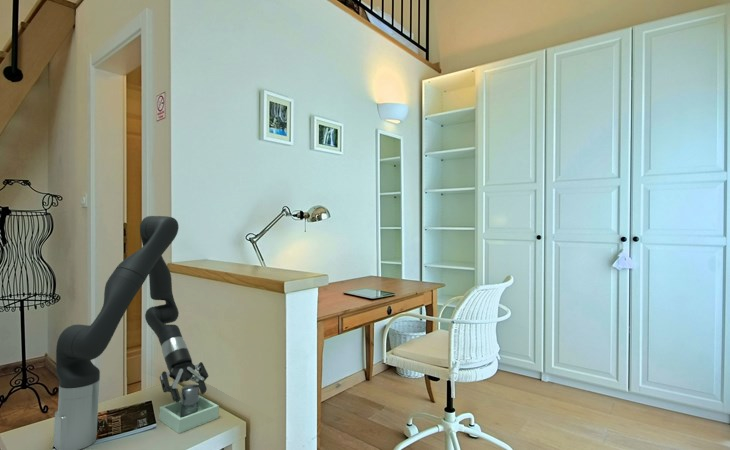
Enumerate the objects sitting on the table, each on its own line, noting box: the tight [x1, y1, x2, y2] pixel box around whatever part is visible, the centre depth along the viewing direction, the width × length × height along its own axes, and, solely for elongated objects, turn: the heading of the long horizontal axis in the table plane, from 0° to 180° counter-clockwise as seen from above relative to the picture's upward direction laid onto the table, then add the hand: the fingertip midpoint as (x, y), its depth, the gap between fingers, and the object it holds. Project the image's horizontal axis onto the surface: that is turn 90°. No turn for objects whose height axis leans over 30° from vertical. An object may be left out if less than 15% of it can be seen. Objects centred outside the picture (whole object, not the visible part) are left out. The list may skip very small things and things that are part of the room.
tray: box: [158, 394, 220, 434], centre depth 123 cm, size 13×13×4 cm
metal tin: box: [180, 383, 200, 418], centre depth 123 cm, size 5×5×9 cm
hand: (191, 396), depth 122 cm, fingers open, 8 cm apart
